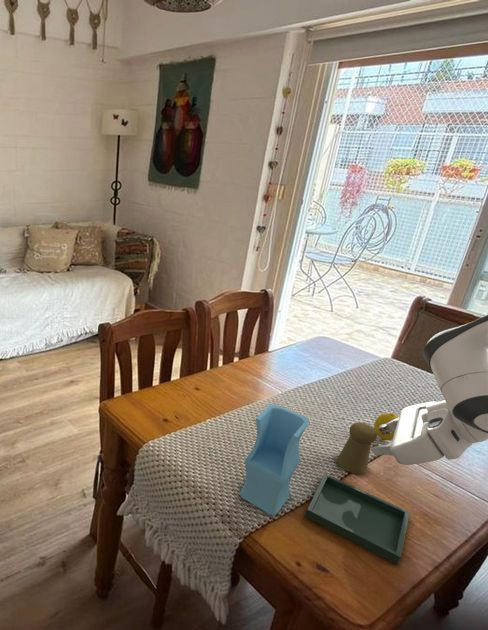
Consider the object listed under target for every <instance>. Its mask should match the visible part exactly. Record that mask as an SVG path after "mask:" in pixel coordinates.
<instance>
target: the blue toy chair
mask: <svg viewBox="0 0 488 630" xmlns="http://www.w3.org/2000/svg"><path fill="white" fill-rule="evenodd" d="M310 422H311V421H310V419H309V418H308V417H307V416H305V415H302V414H300V413H298V412H295V411H293V410H291V409H288V408H286V407H283V406H281V405H278V404H275V403H274V404H269V405H267V407H266V408H265V409H263V411H262V412H260V413H259V415H257V416H256V417H255V425H256V438H255V442H254V445H253V447H252V448H251V450H250V452H249V453H248V454H247V456H246V458H245V460H244V466H245V467H244V468H245V480H244V484H243V486H242V487H241V490H240V492H239V496H240V497H241V498H242V499H243V500H245V501H246V502H248V503H250V504H251V505H253V506H254V507H256V508H258V509H260V510H261V511H263V512H265V513H267V514H268V515H271V516H275V515H277V513H279V512H280V511H281V509H282V507H284V504H285V503H286V502H287V501H288V499H289V498H290V486H291V480H292V477H293V475H294V473H296V472H295V471H296V470H297V468H298V466H299V465H300V462H301V456H300V455H301V454H300V440H301V439H302V436H303V434H304V432H305V431H306V429H307V427H308V426H309V424H310Z"/></svg>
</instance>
